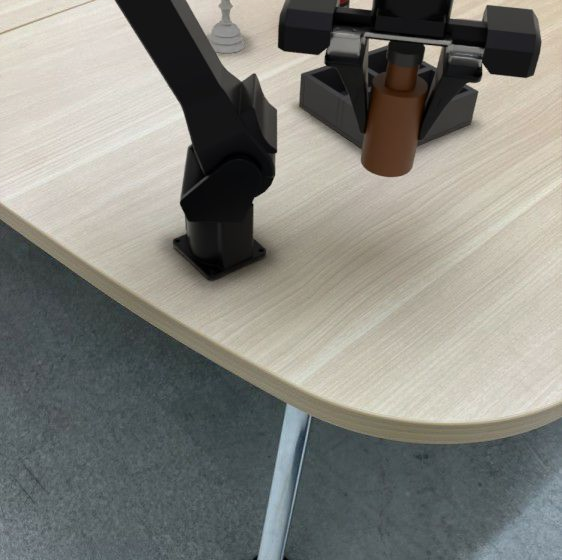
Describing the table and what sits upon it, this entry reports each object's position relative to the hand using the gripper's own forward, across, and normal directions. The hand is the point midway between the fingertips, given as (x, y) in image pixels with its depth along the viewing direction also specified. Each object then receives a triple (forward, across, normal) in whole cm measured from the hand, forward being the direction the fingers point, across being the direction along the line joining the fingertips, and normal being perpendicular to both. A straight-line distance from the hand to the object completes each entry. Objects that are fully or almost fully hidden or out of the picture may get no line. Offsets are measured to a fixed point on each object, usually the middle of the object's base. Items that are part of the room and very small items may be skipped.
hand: (391, 134), depth 64 cm
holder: (+12, +1, -26) cm, 29 cm away
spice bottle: (+3, 0, 0) cm, 3 cm away
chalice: (+13, +22, -40) cm, 47 cm away
